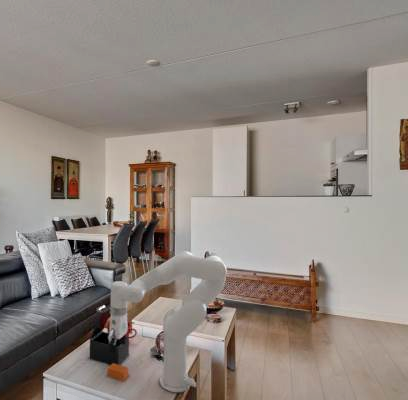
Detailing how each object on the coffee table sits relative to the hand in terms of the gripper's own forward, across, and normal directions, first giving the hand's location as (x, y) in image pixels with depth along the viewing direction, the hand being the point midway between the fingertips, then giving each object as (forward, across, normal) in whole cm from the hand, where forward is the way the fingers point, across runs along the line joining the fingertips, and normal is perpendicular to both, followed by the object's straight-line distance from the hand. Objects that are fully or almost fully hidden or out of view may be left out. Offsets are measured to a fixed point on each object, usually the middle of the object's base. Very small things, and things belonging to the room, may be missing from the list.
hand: (117, 348), depth 139 cm
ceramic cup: (+12, +30, +11) cm, 34 cm away
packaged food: (+12, +28, -13) cm, 33 cm away
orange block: (+12, 0, -1) cm, 12 cm away
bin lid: (-4, +13, +15) cm, 20 cm away
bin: (+12, +13, +10) cm, 21 cm away
